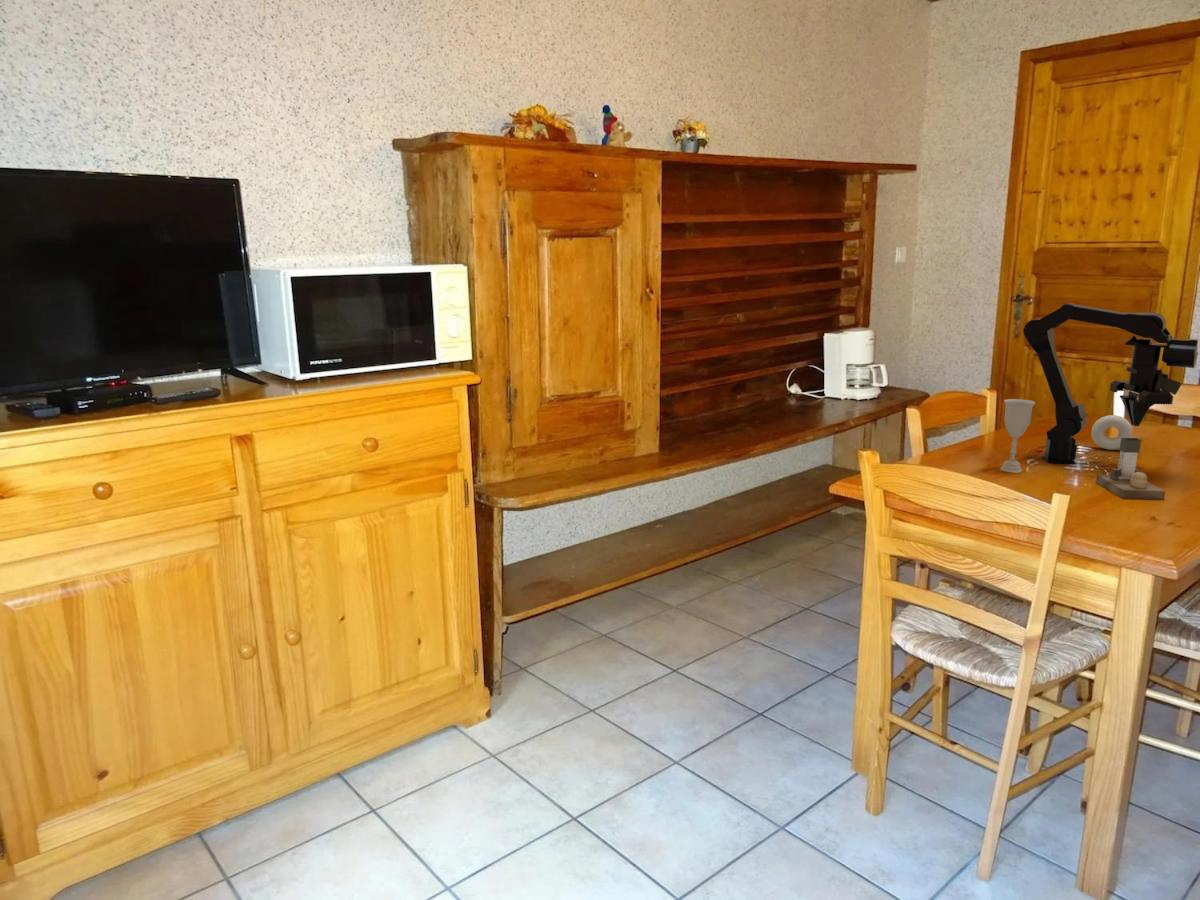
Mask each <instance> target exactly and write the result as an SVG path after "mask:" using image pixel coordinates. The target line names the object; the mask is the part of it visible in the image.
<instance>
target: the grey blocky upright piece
mask: <svg viewBox="0 0 1200 900" xmlns="http://www.w3.org/2000/svg"><path fill="white" fill-rule="evenodd" d="M1141 443H1142V439H1139V438H1138V437H1132V438H1121V443H1120V449H1118V450H1119V451H1120V453H1119V458H1118V464H1117V465H1118V466H1117V469H1118V470H1120V472H1119V476H1121V477H1131V476H1132V475H1133V474H1134V473H1135V469H1136V468H1137V467H1136V466H1137V460H1138V454H1140V451H1141V450H1140V449H1141Z"/></svg>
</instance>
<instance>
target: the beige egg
mask: <svg viewBox="0 0 1200 900" xmlns="http://www.w3.org/2000/svg"><path fill="white" fill-rule="evenodd" d="M1147 482H1148V476H1147V474H1145V472H1142V471H1141V472H1136V473H1134V474H1133V475H1132V476H1131V481H1130V487H1132V488H1137V489H1145V488H1146V485H1147Z"/></svg>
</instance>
